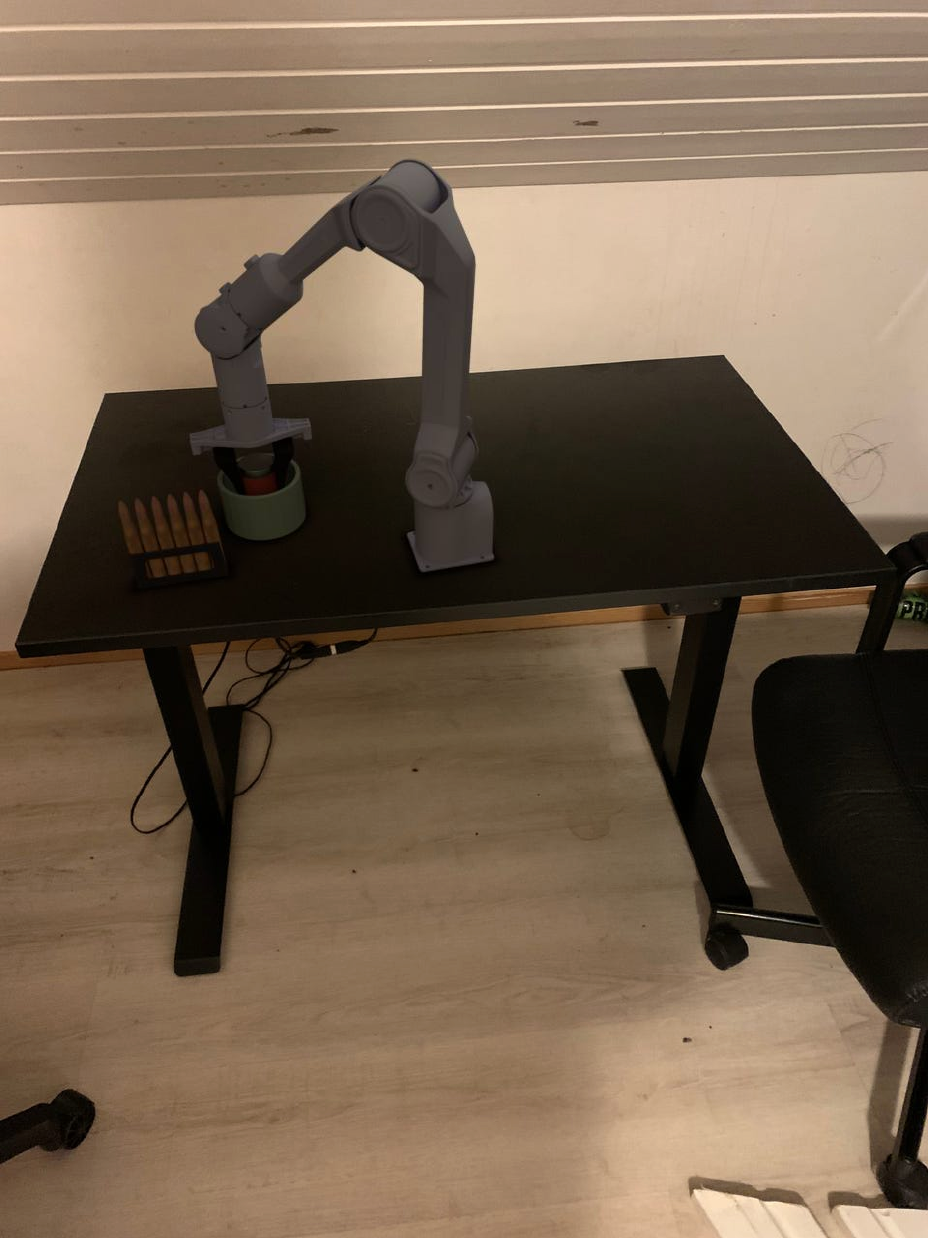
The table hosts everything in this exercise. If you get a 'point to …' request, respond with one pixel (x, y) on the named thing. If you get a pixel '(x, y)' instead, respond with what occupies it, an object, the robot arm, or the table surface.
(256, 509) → the cup
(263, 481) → the tin can
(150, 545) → the ammunition clip
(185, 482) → the table surface
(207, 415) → the table surface
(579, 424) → the table surface
